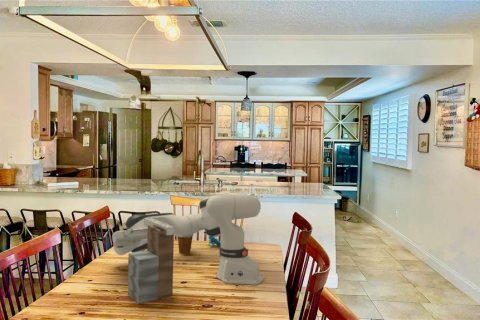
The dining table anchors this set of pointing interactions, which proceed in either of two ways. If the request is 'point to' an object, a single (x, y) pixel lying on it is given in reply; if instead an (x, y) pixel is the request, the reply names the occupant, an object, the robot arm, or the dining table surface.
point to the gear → (213, 241)
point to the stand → (152, 268)
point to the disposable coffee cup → (185, 244)
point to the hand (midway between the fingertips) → (141, 229)
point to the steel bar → (159, 226)
